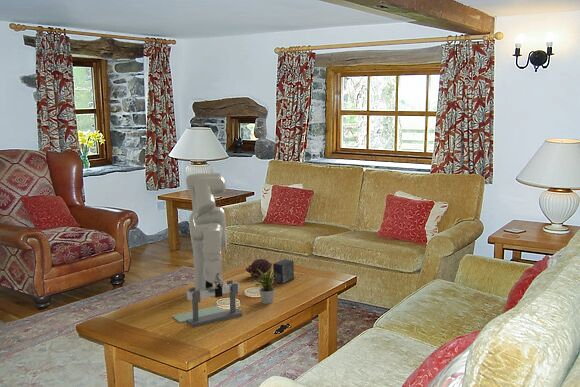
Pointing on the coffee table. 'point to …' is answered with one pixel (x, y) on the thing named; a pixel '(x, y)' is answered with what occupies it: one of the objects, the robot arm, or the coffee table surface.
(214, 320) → the grey base with uprights
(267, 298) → the house plant
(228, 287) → the steel rail
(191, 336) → the coffee table surface
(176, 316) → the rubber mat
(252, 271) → the pine cone
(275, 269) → the small box
